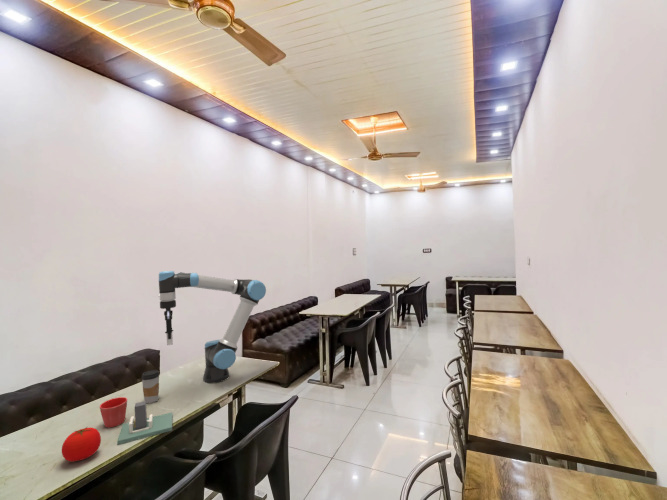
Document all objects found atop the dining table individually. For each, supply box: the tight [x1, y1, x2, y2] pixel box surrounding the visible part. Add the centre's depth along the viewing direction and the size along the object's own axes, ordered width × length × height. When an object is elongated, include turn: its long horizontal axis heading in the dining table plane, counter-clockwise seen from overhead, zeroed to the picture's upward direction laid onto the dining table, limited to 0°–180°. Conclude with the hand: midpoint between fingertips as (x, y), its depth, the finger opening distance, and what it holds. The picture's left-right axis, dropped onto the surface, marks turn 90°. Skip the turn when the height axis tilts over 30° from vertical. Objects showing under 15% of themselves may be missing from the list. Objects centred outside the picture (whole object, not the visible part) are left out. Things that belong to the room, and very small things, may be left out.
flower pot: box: [99, 396, 128, 429], centre depth 149 cm, size 11×11×10 cm
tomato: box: [61, 426, 102, 463], centre depth 124 cm, size 12×12×10 cm
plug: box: [134, 400, 148, 430], centre depth 141 cm, size 5×4×10 cm
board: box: [116, 411, 173, 446], centre depth 142 cm, size 20×15×6 cm
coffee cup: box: [141, 369, 160, 404], centre depth 170 cm, size 8×8×15 cm
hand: (169, 344), depth 170 cm, fingers closed
